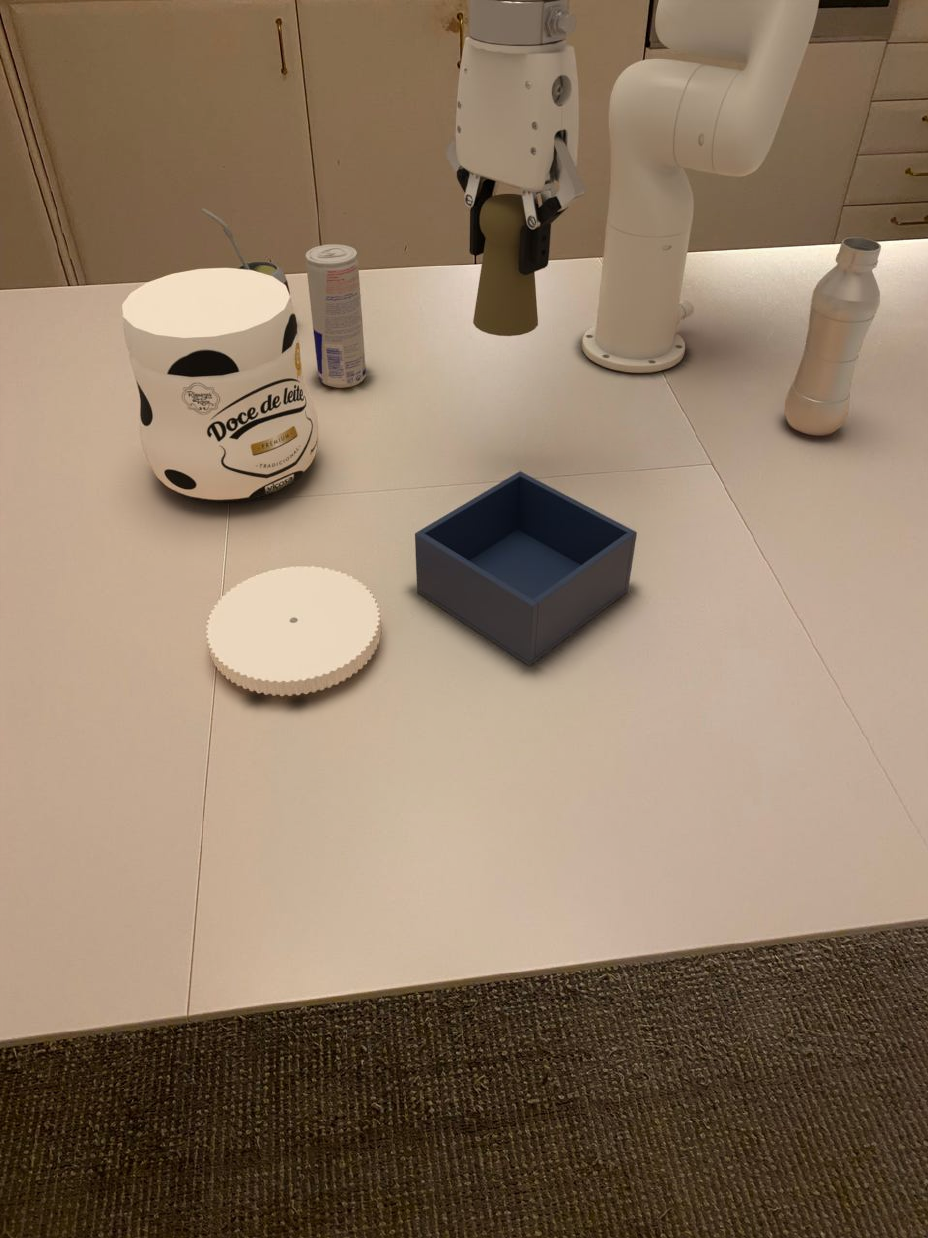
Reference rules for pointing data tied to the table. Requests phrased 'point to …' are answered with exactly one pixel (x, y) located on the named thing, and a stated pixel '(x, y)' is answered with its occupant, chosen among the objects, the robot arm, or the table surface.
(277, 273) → the mate gourd
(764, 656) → the table surface
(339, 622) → the plastic lid
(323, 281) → the beverage can
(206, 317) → the milk container
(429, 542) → the blue square bin
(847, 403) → the plastic bottle
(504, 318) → the olive brown pawn
